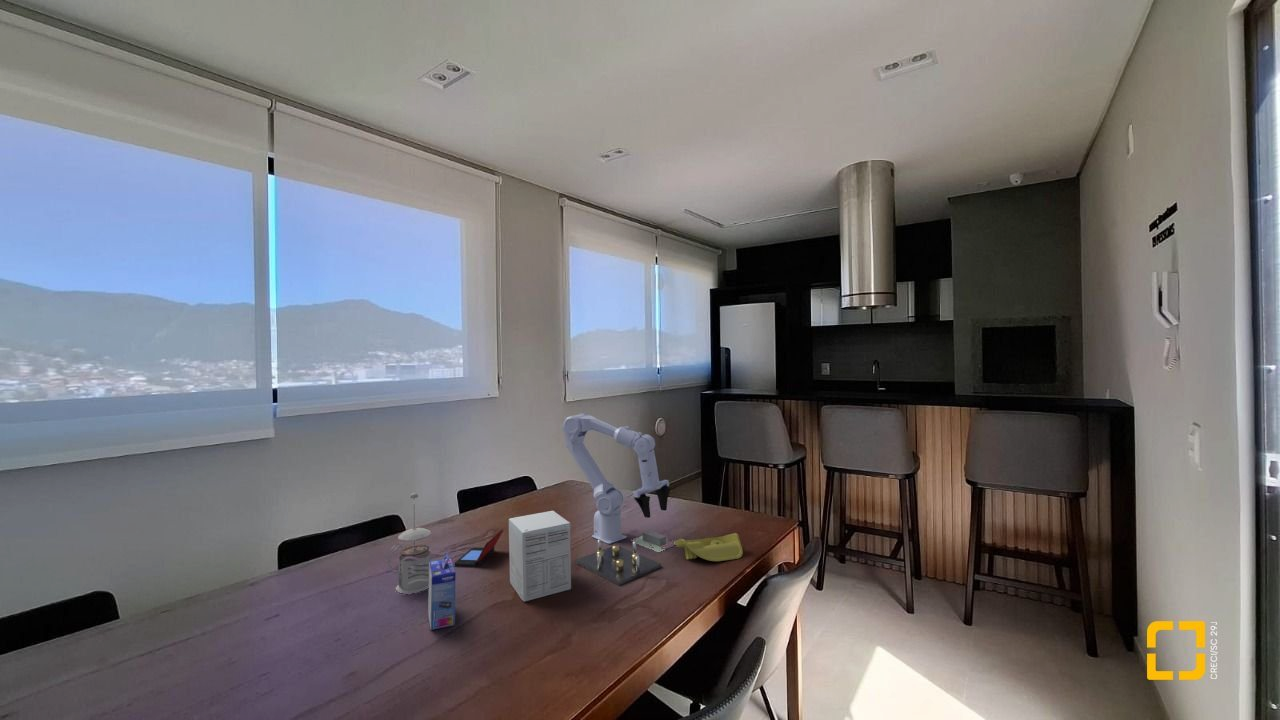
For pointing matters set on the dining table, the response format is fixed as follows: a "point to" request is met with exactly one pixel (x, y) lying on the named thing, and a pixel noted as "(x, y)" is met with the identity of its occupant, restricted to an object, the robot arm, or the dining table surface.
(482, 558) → the handheld game console
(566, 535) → the supplement box
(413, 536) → the french press
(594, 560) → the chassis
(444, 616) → the ink cartridge box
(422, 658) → the dining table surface
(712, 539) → the plastic component
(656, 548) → the board
